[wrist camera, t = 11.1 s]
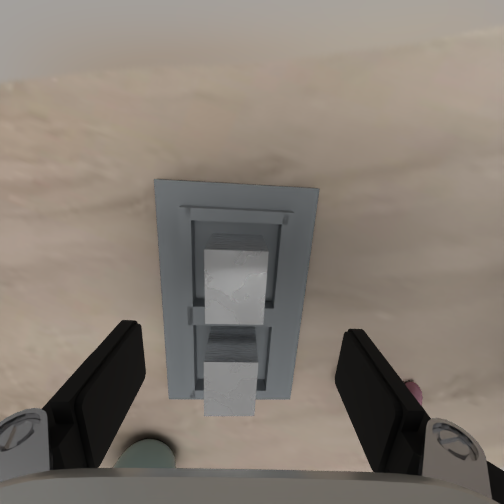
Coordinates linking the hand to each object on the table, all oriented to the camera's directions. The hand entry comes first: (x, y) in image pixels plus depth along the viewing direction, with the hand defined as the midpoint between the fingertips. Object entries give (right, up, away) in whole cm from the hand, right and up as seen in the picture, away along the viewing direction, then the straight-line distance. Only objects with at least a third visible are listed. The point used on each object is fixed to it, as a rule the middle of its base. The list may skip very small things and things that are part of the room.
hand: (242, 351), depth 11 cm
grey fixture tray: (-1, -1, +14) cm, 14 cm away
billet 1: (-1, +3, +11) cm, 12 cm away
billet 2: (-2, -6, +14) cm, 15 cm away
